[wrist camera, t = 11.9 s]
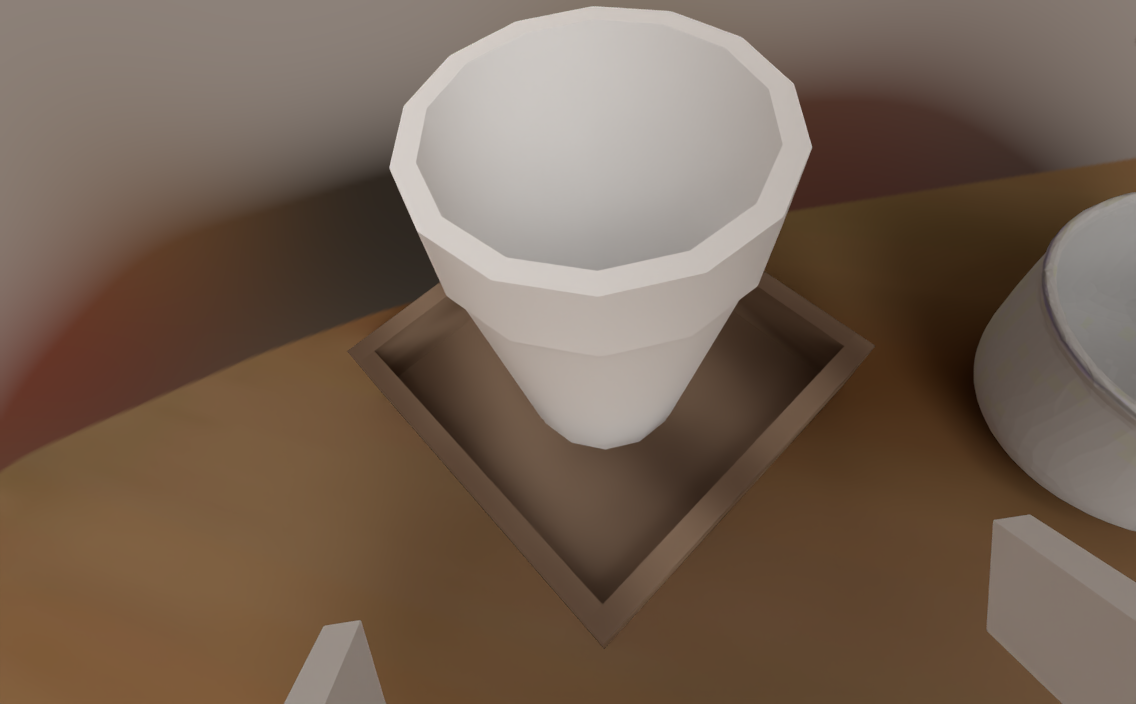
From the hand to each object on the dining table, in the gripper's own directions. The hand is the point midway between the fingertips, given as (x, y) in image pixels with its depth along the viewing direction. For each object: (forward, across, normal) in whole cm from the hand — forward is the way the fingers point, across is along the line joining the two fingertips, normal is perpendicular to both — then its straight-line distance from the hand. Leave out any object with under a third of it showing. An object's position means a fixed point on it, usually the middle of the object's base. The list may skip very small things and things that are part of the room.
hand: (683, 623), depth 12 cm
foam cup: (+13, 0, +1) cm, 13 cm away
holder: (+14, 0, 0) cm, 14 cm away
